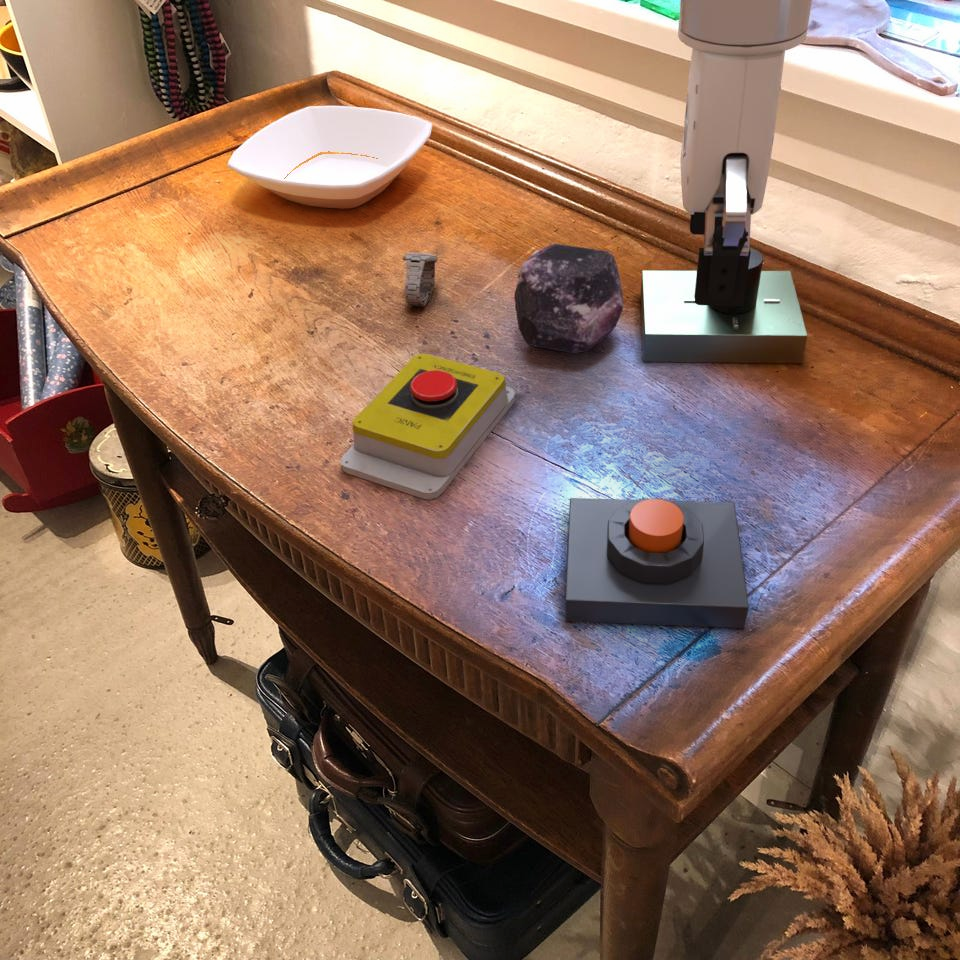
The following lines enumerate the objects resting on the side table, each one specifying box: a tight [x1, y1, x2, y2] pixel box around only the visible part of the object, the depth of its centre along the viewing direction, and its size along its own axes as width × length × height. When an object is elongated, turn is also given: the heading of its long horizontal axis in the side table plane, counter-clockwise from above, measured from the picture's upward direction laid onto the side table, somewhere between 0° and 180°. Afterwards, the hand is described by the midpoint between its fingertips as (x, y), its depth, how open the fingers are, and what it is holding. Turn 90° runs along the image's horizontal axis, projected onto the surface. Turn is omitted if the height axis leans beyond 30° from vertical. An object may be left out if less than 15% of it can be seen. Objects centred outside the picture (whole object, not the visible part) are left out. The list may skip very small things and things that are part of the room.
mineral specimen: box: [513, 243, 624, 354], centre depth 88 cm, size 10×10×10 cm
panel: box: [640, 270, 808, 365], centre depth 90 cm, size 14×11×3 cm
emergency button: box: [340, 353, 517, 500], centre depth 81 cm, size 9×4×15 cm
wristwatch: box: [402, 252, 438, 307], centre depth 96 cm, size 4×6×5 cm, turn 168°
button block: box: [564, 497, 750, 629], centre depth 68 cm, size 12×10×4 cm
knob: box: [711, 246, 764, 314], centre depth 87 cm, size 4×4×5 cm
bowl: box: [226, 105, 433, 210], centre depth 117 cm, size 22×22×5 cm
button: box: [629, 498, 684, 553], centre depth 66 cm, size 4×4×2 cm
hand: (714, 266), depth 69 cm, fingers open, 9 cm apart
